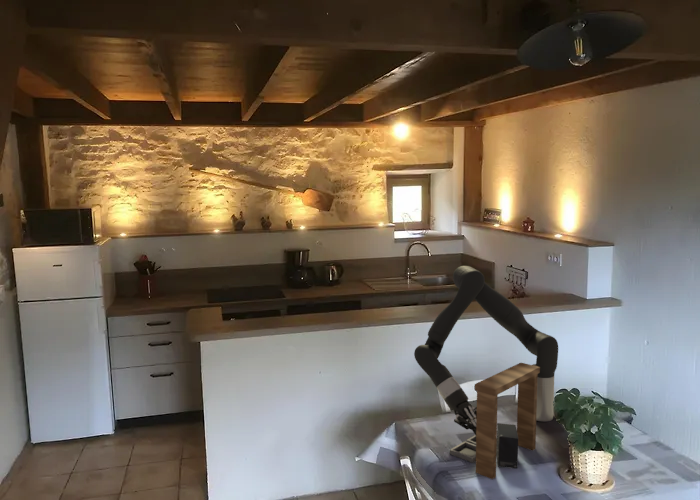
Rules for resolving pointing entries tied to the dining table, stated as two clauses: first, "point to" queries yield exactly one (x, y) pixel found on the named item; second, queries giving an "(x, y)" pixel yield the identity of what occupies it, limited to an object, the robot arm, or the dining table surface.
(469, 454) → the tray
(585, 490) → the dining table surface
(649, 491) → the dining table surface
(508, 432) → the small box
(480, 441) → the tunnel
